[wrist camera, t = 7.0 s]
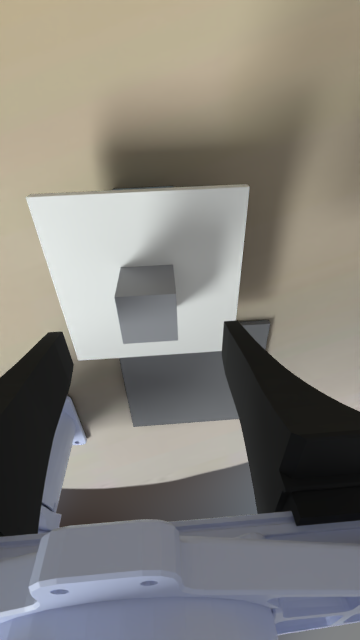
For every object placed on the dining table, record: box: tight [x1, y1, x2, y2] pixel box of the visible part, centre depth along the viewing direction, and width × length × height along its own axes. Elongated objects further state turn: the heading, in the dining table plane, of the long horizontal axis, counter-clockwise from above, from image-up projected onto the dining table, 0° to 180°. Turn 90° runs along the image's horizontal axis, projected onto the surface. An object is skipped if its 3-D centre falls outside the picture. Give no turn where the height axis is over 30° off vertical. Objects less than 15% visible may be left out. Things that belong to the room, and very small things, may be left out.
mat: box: [119, 320, 270, 427], centre depth 29 cm, size 13×13×1 cm
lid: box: [26, 184, 250, 361], centre depth 17 cm, size 11×11×4 cm
